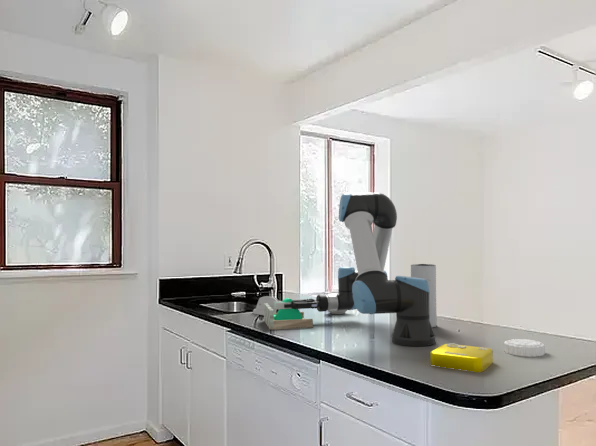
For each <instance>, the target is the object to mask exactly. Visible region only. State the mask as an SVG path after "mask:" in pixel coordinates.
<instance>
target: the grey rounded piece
mask: <svg viewBox="0 0 596 446" xmlns="http://www.w3.org/2000/svg"><path fill="white" fill-rule="evenodd" d="M276 301H280V300H279V299H278V298H277V297H274V296H269V295H266V296H265V295H263V296H262V297H259V299H258V301H257V304H256V307H255V308H254V309H253V310H252V314H254V315H259V316H264V304H265V303H267V304H268V305H269V306H270V307H271V308H272V309H273V313H277V312H278V311H279V309H276V308H274V302H276Z"/></svg>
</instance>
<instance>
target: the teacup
mask: <svg viewBox="0 0 596 446" xmlns="http://www.w3.org/2000/svg"><path fill="white" fill-rule="evenodd" d="M347 311H348V310H340V311H334V312H332V311H328V312H329V313H330V314H331V315H343V314H345V313H346V312H347Z"/></svg>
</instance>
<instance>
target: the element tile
mask: <svg viewBox="0 0 596 446" xmlns="http://www.w3.org/2000/svg"><path fill="white" fill-rule="evenodd" d="M493 353H494V352H493V349H492V348H490V347H482V346H473V345H464V344H458V343H444V344H441V345H439V346H438V347H436V348H435V349H432V350H431V351H430V352H429V362H430V363H429V365H430V364H431V365H435V366H440V367H446V368H445V369H447V368H454V369H461V370H460V371H462V370H467V371H466V372H469V371H473V372H472V373H482V372H484V371H485V370H487V368H488V367H490V366H491V365H493V363H494V361H493V358H494V357H493V355H494V354H493ZM431 365H430V366H431ZM440 367H439V368H440ZM454 369H453V370H454Z"/></svg>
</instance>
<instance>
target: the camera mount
mask: <svg viewBox="0 0 596 446" xmlns="http://www.w3.org/2000/svg"><path fill="white" fill-rule="evenodd" d="M293 300H294V299H291V298H289V297H285V298H284V299H282V301H283V302H282V303H284V302H288V301H289V302H291V304H292V301H293ZM300 312H301V311H300V309H292V308H291V309H279V311H278V312H277V314H276V315H274V320H296V319H302V314H301V313H300Z"/></svg>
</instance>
